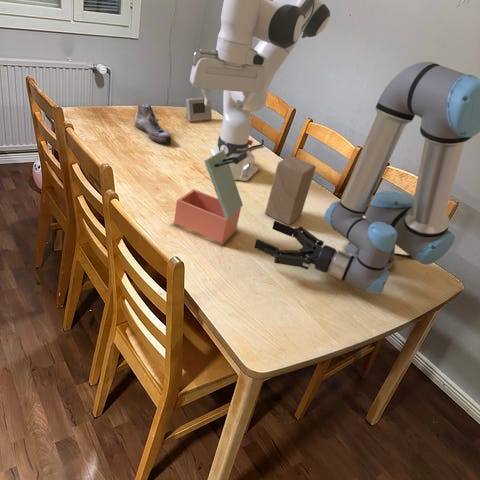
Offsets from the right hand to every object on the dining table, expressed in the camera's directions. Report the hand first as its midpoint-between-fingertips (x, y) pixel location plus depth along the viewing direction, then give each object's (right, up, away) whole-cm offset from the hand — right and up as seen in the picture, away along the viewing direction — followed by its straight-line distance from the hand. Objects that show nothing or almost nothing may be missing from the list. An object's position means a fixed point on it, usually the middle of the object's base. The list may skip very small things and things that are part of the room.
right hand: (264, 233), depth 131 cm
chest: (-18, +2, +9) cm, 21 cm away
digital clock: (-29, +60, +96) cm, 117 cm away
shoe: (-46, +45, +67) cm, 93 cm away
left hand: (-12, +34, -12) cm, 38 cm away
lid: (-12, +15, -1) cm, 19 cm away
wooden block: (+8, +7, +27) cm, 29 cm away
